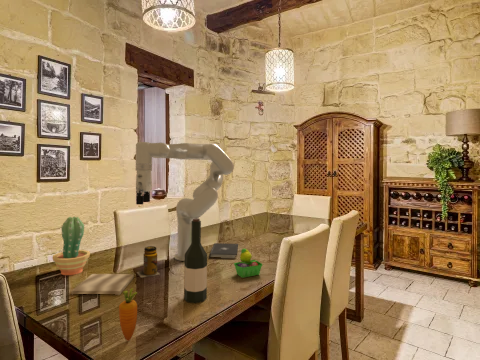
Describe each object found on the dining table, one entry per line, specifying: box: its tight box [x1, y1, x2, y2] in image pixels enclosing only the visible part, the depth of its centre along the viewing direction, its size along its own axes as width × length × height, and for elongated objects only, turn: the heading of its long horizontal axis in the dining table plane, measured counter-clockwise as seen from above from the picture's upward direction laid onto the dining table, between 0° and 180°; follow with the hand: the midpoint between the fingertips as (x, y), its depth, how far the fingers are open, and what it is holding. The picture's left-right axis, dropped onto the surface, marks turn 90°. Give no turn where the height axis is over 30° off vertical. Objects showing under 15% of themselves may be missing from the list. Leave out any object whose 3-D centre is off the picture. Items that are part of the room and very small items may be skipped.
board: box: [70, 273, 135, 296], centre depth 128 cm, size 18×18×2 cm
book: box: [208, 242, 239, 259], centre depth 178 cm, size 22×15×3 cm
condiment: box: [136, 245, 161, 279], centre depth 142 cm, size 7×8×12 cm
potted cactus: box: [51, 216, 91, 276], centre depth 143 cm, size 15×15×25 cm
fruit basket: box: [233, 248, 263, 279], centre depth 144 cm, size 11×9×11 cm
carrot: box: [118, 287, 138, 342], centre depth 89 cm, size 5×5×15 cm
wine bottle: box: [183, 217, 208, 304], centre depth 117 cm, size 8×8×30 cm
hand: (143, 203), depth 153 cm, fingers open, 9 cm apart
